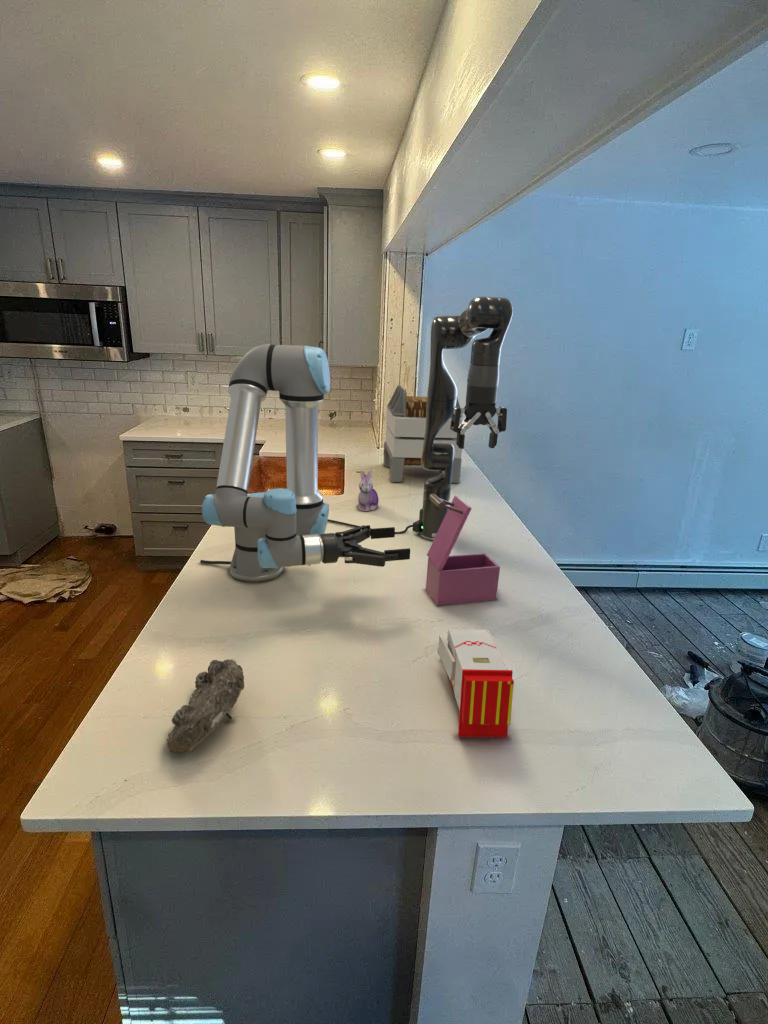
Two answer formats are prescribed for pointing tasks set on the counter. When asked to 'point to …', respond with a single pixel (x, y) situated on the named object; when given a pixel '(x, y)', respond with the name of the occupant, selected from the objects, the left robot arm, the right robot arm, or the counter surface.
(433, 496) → the lid
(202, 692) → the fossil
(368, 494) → the figurine
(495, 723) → the toy
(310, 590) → the counter surface
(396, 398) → the grey slatted box
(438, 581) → the chest
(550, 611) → the counter surface
